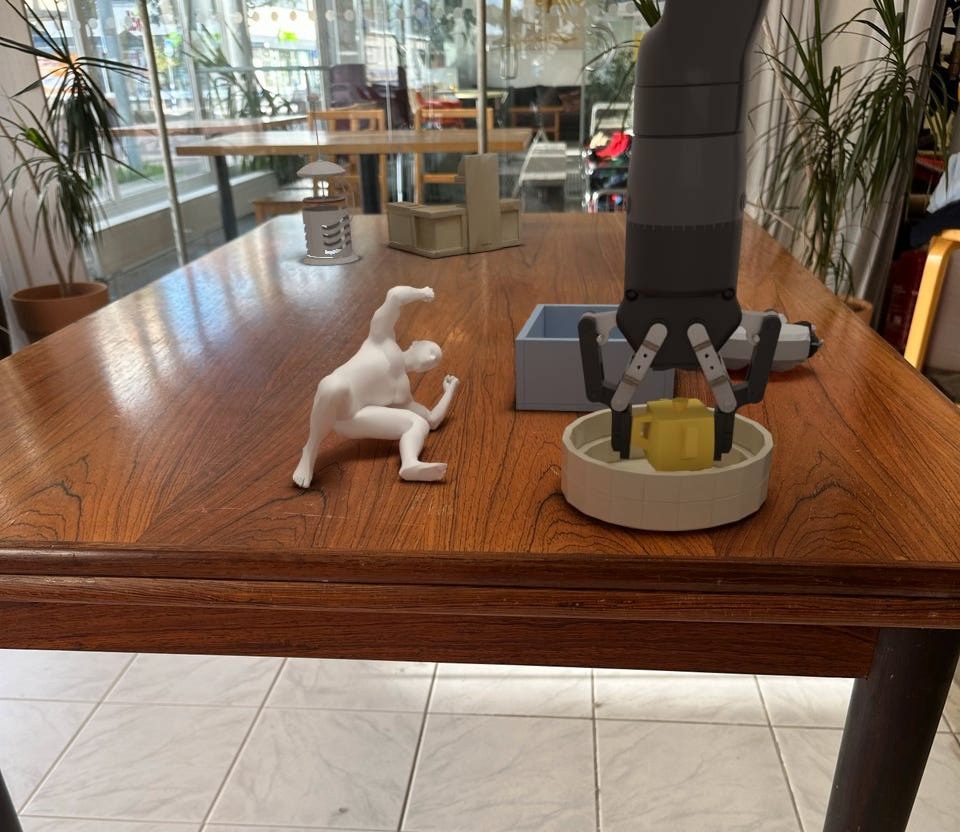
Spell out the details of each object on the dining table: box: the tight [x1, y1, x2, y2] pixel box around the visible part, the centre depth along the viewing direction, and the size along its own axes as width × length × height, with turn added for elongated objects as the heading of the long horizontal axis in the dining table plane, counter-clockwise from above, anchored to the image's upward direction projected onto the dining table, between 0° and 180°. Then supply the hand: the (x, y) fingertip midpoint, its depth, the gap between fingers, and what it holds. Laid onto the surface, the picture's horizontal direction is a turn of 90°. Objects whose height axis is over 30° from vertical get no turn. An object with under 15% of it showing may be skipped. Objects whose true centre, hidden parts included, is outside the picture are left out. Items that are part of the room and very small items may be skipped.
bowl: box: [560, 404, 774, 532], centre depth 71 cm, size 15×15×4 cm
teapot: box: [630, 396, 714, 472], centre depth 69 cm, size 8×6×5 cm
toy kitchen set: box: [386, 152, 523, 259], centre depth 166 cm, size 18×17×15 cm
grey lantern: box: [296, 92, 360, 266], centre depth 157 cm, size 10×12×25 cm
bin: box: [514, 303, 676, 413], centre depth 93 cm, size 15×15×7 cm
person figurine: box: [292, 285, 460, 489], centre depth 79 cm, size 13×13×18 cm
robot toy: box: [719, 313, 825, 373], centre depth 100 cm, size 12×4×15 cm
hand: (669, 456), depth 70 cm, fingers closed on teapot, 6 cm apart
